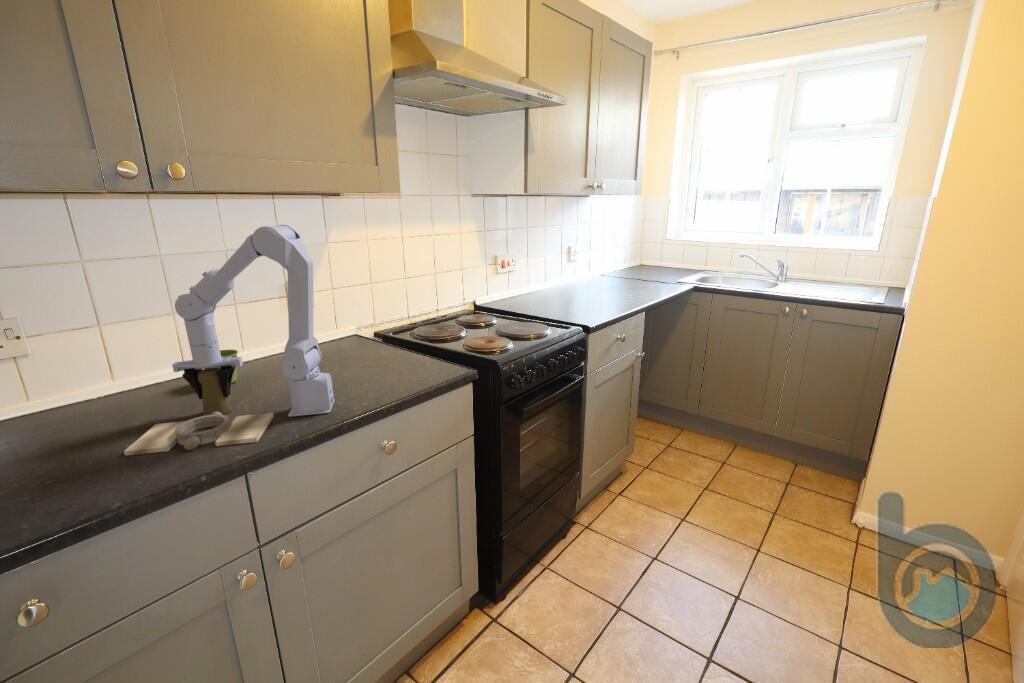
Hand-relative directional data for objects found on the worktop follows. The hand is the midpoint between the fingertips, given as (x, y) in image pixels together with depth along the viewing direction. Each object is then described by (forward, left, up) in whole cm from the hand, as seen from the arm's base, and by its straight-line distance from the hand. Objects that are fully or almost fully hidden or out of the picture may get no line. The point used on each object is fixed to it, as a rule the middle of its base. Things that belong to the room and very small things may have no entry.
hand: (215, 396), depth 117 cm
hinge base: (-2, +13, -4) cm, 14 cm away
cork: (0, 0, -4) cm, 4 cm away
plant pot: (+6, -22, -4) cm, 23 cm away
